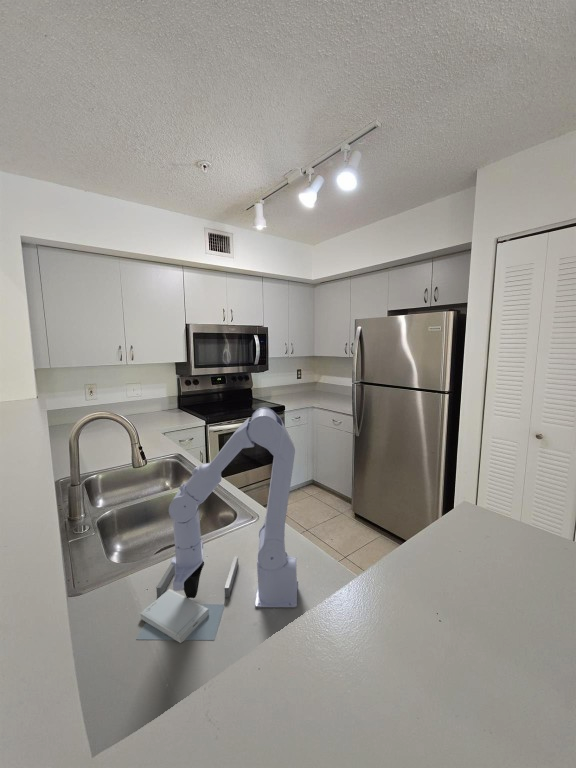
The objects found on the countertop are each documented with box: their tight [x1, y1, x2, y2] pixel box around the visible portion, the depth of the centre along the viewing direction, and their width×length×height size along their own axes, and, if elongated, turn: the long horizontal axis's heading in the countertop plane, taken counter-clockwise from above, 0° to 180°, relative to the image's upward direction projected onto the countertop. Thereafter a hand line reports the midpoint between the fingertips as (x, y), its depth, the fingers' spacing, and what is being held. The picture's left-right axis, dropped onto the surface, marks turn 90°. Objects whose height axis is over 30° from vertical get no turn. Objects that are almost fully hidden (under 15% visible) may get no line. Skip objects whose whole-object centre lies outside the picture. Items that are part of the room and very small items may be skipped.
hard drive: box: [139, 588, 209, 644], centre depth 71 cm, size 2×8×12 cm
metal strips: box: [155, 555, 239, 599], centre depth 82 cm, size 17×12×2 cm
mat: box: [136, 603, 225, 641], centre depth 70 cm, size 16×9×1 cm, turn 88°
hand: (191, 596), depth 75 cm, fingers closed
